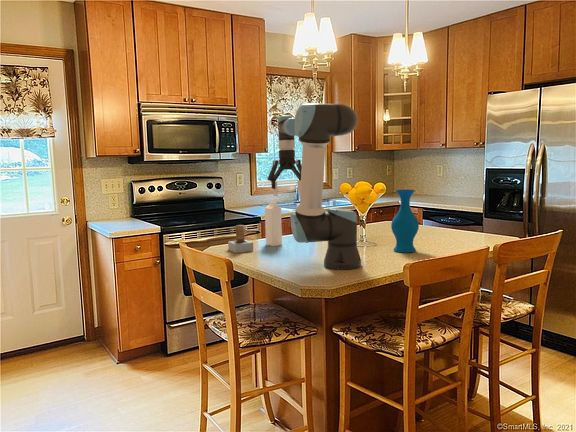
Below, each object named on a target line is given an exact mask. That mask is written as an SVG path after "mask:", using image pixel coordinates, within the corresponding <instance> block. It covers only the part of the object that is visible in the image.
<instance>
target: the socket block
mask: <svg viewBox="0 0 576 432" xmlns="http://www.w3.org/2000/svg"><path fill="white" fill-rule="evenodd" d="M227 243H228V244H227V248H228V249H227V250H228V251H230V252H232V253H233V252H234V254H235V253H236V254H238V253H246V252H253V251H254V242H253V241H251V240H247V239H245V243H238V244H237V243H236V240H231V241H227Z"/></svg>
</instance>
